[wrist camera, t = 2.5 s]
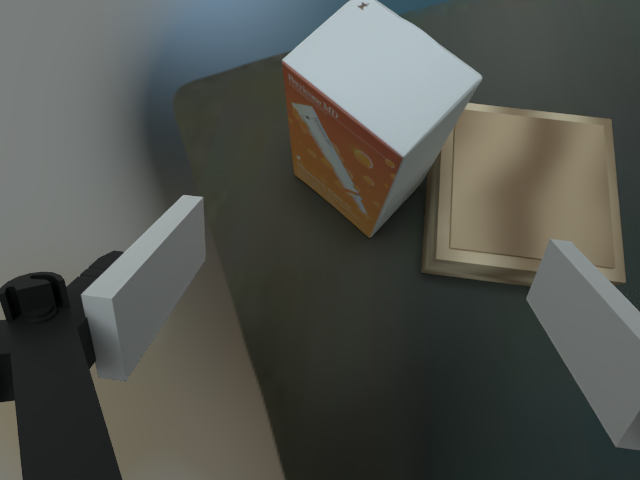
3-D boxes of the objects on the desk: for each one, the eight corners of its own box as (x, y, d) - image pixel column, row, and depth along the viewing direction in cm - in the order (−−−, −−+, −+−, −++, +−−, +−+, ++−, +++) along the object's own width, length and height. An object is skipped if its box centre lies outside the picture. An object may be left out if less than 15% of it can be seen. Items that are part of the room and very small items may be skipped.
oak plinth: (577, 147, 34) (614, 116, 30) (587, 293, 30) (629, 281, 26) (429, 130, 34) (444, 97, 30) (421, 272, 31) (437, 257, 26)
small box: (292, 175, 33) (276, 57, 20) (345, 124, 34) (361, -16, 22) (370, 242, 31) (404, 158, 19) (423, 185, 33) (487, 72, 20)
